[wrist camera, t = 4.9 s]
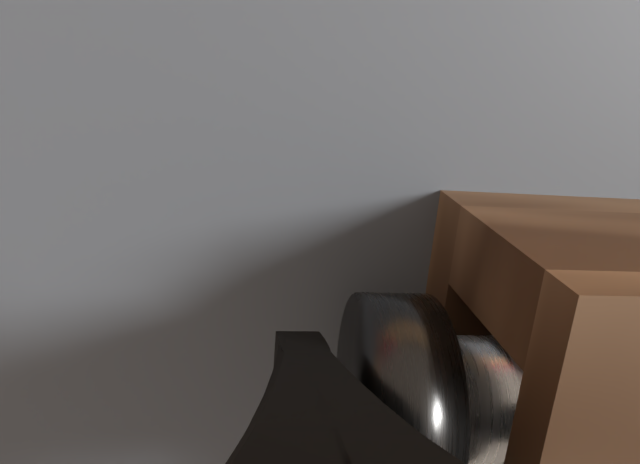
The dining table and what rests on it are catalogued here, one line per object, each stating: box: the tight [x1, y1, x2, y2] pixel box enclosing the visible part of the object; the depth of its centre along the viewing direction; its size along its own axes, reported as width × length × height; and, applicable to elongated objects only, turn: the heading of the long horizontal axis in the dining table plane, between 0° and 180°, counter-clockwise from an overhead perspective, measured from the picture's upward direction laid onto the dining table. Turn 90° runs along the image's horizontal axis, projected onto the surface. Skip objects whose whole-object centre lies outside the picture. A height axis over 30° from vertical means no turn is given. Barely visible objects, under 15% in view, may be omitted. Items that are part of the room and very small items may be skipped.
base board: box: [0, 0, 640, 464], centre depth 12 cm, size 14×20×1 cm
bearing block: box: [426, 190, 640, 464], centre depth 10 cm, size 6×5×5 cm
